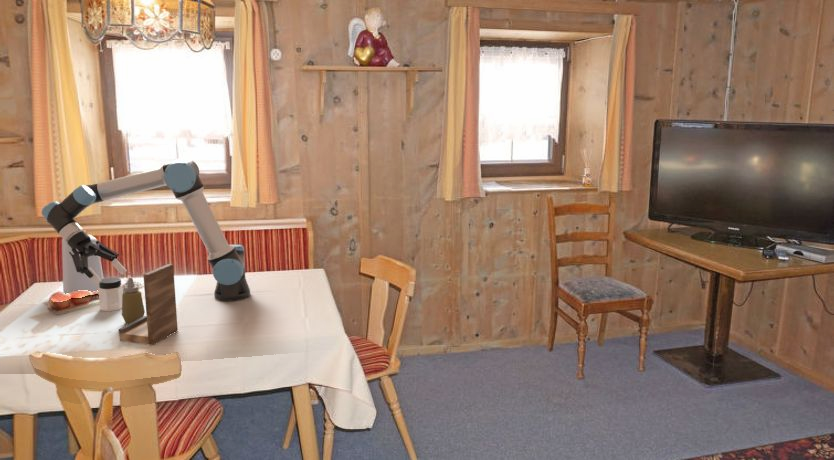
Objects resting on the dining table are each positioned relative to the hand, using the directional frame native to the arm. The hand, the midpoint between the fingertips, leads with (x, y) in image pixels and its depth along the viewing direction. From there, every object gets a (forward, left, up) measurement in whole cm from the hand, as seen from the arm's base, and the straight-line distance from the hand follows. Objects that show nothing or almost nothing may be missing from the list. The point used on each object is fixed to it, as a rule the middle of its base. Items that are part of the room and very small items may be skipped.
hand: (112, 277), depth 235 cm
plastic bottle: (+26, -36, -18) cm, 48 cm away
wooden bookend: (-17, +16, -17) cm, 30 cm away
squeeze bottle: (-7, +2, -18) cm, 19 cm away
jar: (+7, -15, -18) cm, 24 cm away
